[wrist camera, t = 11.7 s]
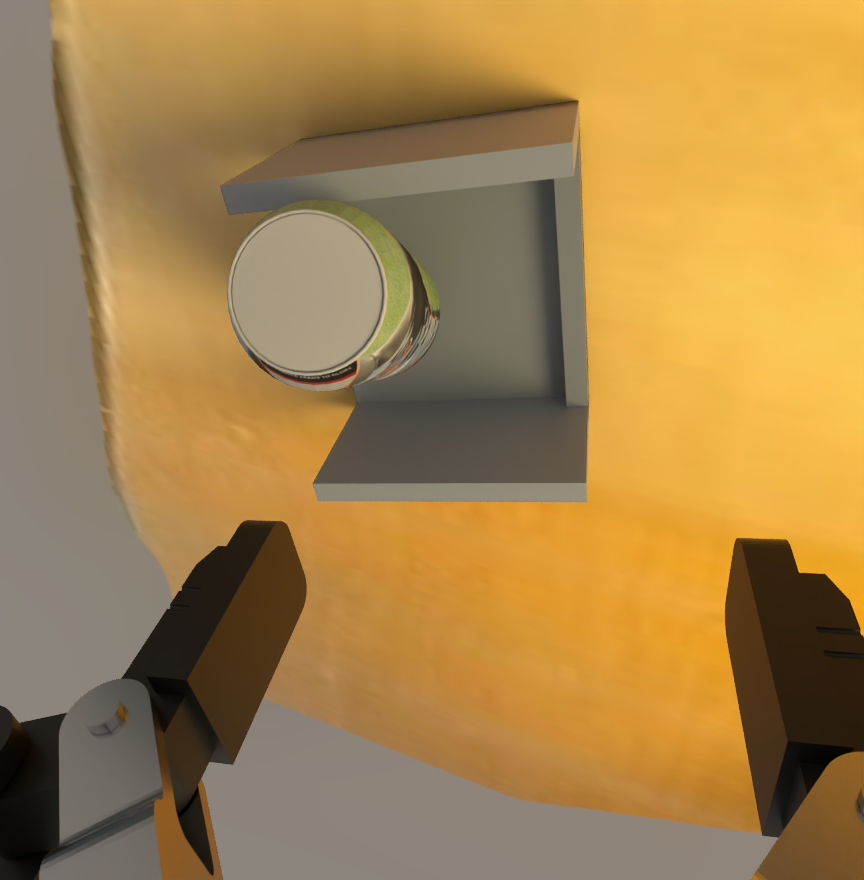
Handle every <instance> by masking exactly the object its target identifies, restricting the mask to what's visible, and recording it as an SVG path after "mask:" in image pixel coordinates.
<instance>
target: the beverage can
mask: <svg viewBox="0 0 864 880" xmlns="http://www.w3.org/2000/svg"><path fill="white" fill-rule="evenodd" d="M227 298H228V308H229V314H230V318H231V321H232V325H233V328H234V330H235V333H236V335H237V337H238V339H239V341H240V343H241V345H242V346H243V348H244V349H245V351H246V352H247V353H248V355H249V356H250V357H251V358H252V359H253V360H254V362H255V363H256V364H257V365H258V366H259V367H260V368H261V369H263V370H264V371H265V372H267V373H268V374H269V375H271V376H272V377H274V378H275V379H277V380H279V381H281V382H283V383H285V384H287V385H290V386H293V387H297V388H300V389H303V390H311V391H335V390H340V389H344V388H348V387H352V386H356V385H360V384H364V383H368V382H372V381H375V380H379V379H383V378H387V377H391V376H395V375H397V374H400V373H402V372H404V371H406V370H408V369H409V368H411V367H412V366H414V365H415V364H416V363H417V362H418V361H419V360H420V359H421V358H422V357H423V356H424V355H425V354H426V352H427V351H428V350H429V348H430V347H431V345H432V343H433V341H434V339H435V337H436V333H437V330H438V326H439V320H440V301H439V297H438V293H437V289H436V287H435V284H434V282H433V280H432V278H431V276H430V275H429V273H428V271H427V270H426V268H425V267H424V266H423V265H422V264H421V263H420V262H419V261H418V260H417V259H416V258H415V257H414V256H413V255H412V254H411V253H410V252H409V251H408V250H407V249H406V248H405V247H404V246H403V245H402V244H401V243H400V242H399V241H398V240H397V239H396V238H395V237H394V236H393V235H392V234H391V233H390V232H389V231H388V230H387V229H386V228H385V227H384V226H383V225H382V224H381V223H379V222H378V221H377V220H375V219H374V218H373V217H371V216H370V215H369V214H367V213H366V212H364V211H362V210H360V209H358V208H356V207H354V206H351V205H348V204H345V203H341V202H338V201H332V200H321V199H316V200H305V201H299V202H296V203H292V204H289V205H286V206H284V207H282V208H280V209H278V210H276V211H274V212H272V213H270V214H269V215H267V216H266V217H265V218H263V219H262V220H261V221H259V222H258V223H257V224H256V225H255V226H254V228H253V229H252V230H251V231H250V232H249V233H248V234H247V235H246V237H245V239H244V240H243V242H242V243H241V245H240V246H239V248H238V250H237V252H236V255H235V257H234V260H233V262H232V265H231V269H230V273H229V278H228V291H227Z"/></svg>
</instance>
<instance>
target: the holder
mask: <svg viewBox="0 0 864 880" xmlns="http://www.w3.org/2000/svg"><path fill="white" fill-rule="evenodd" d="M220 188H221V191H222V194H223V197H224V200H225V204H226V207H227V210H228V213H229V215H233V214H242V213H251V212H260V211H268V210H277V209H280V208H282V207H284V206H286V205H289V204H292V203H296V202H299V201H305V200H316V199H321V200H332V201H338V202H341V203H345V204H348V205H351V206H354V207H356V208H358V209H360V210H362V211H364V212H366V213H367V214H369V215H370V216H371V217H373V218H374V219H375V220H377V221H378V222H379V223H381V224H382V225H383V226H384V227H385V228H386V229H387V230H388V231H389V232H390V233H391V234H392V235H393V236H394V237H395V238H396V239H397V240H398V241H399V242H400V243H401V244H402V245H403V246H404V247H405V248H406V249H407V250H408V251H409V252H410V253H411V254H412V255H413V256H414V257H415V258H416V259H417V260H418V261H419V262H420V263H421V264H422V265H423V266H424V267H425V268H426V270H427V271H428V273H429V275H430V276H431V278H432V280H433V282H434V284H435V287H436V289H437V293H438V297H439V301H440V320H439V326H438V330H437V333H436V337H435V339H434V341H433V343H432V345H431V347H430V348H429V350H428V351H427V352H426V354H425V355H424V356H423V357H422V358H421V359H420V360H419V361H418V362H417V363H416V364H415V365H414V366H412V367H411V368H409V369H408V370H406V371H404V372H402V373H400V374H397V375H395V376H391V377H387V378H383V379H379V380H375V381H372V382H368V383H364V384H360V385H356V386H353V389H354V393H355V397H356V402H357V404H356V406H355V408H354V410H353V412H352V413H351V415H350V417H349V419H348V421H347V422H346V424H345V426H344V428H343V430H342V431H341V433H340V435H339V437H338V439H337V440H336V442H335V444H334V446H333V448H332V449H331V451H330V453H329V455H328V457H327V459H326V460H325V462H324V464H323V466H322V468H321V469H320V471H319V473H318V475H317V477H316V478H315V480H314V482H313V487H314V490H315V493H316V496H317V500H318V501H416V502H587V475H588V429H589V386H588V357H587V329H586V300H585V271H584V242H583V214H582V185H581V156H580V127H579V101H573V102H565V103H558V104H551V105H544V106H537V107H529V108H522V109H515V110H508V111H500V112H493V113H486V114H479V115H472V116H464V117H457V118H450V119H443V120H436V121H428V122H421V123H414V124H407V125H399V126H392V127H385V128H378V129H371V130H363V131H356V132H349V133H342V134H334V135H327V136H320V137H313V138H306V139H300V140H299V141H297V142H295V143H293V144H292V145H290V146H288V147H286V148H285V149H283V150H281V151H280V152H278V153H276V154H274V155H273V156H271V157H269V158H267V159H266V160H264V161H262V162H261V163H259V164H257V165H255V166H254V167H252V168H250V169H248V170H247V171H245V172H243V173H242V174H240V175H238V176H236V177H235V178H233V179H231V180H229V181H228V182H226V183H224V184H222V185H221V186H220Z"/></svg>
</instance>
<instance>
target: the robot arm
mask: <svg viewBox="0 0 864 880" xmlns="http://www.w3.org/2000/svg"><path fill="white" fill-rule="evenodd" d="M305 599H306V578H305V574H304V571H303V569H302V566H301V563H300V560H299V557H298V554H297V551H296V548H295V545H294V542H293V539H292V536H291V533H290V530H289V528H288V526H287V524H286V523H284V522H282V521H254V520H247V521H244V522H242V523H241V524H240V526H239V527H238V529H237V530H236V532H235V533H234V535H233V537H232V538H231V540H230V541H229V543H228V545H227V546H218V547H216V548H215V549H214V550H213V551H212V552H211V553H209V554H208V555H207V556H206V557H205V558H204V559H202V560H201V561H200V562H199V563H198V564H196V566H195V567H194V569H193V570H192V572H191V573H190V575H189V576H188V578H187V579H186V581H185V583H184V584H183V586H182V591H179V592H178V593H177V595H176V596H175V598H174V599H173V601H172V602H171V604H170V606H171V607H170V609H167V610H166V612H165V613H164V615H163V616H162V618H161V619H160V621H159V623H158V624H157V625H156V627H155V629H154V630H153V631H152V633H151V635H150V636H149V638H148V639H147V641H146V642H145V644H144V645H143V647H142V648H141V650H140V651H139V653H138V654H137V656H136V657H135V659H134V660H133V662H132V664H131V665H130V667H129V668H128V670H127V671H126V673H125V674H124V676H123V677H122V678H121V679H116V680H112V681H109V682H106V683H103V684H101V685H100V686H97V687H95V688H94V689H92V690H91V691H89V692H87V693H86V694H85V695H84V696H83V697H81V698H80V699H79V700H78V701H77V702H76V703H75V704H74V705H73V706H72V707H71V709H70V710H69V711H68V713H64V714H59V715H55V716H50V717H45V718H41V719H36V720H31V721H26V722H22V723H19V722H18V721H17V720H16V719H15V717H14V716H13V715H12V713H11V712H10V711H9V710H8V709H7V708H5V707H2V706H0V880H223V876H222V871H221V866H220V861H219V856H218V851H217V846H216V841H215V836H214V831H213V826H212V821H211V816H210V811H209V806H208V801H207V796H206V791H205V787H204V784H203V782H202V780H201V778H202V776H203V774H204V772H205V770H206V767H207V765H208V763H209V762H216V763H223V764H232V765H233V763H234V761H235V759H236V757H237V754H238V752H239V750H240V748H241V746H242V743H243V741H244V739H245V737H246V735H247V732H248V730H249V728H250V726H251V723H252V721H253V719H254V717H255V714H256V712H257V710H258V708H259V706H260V703H261V701H262V699H263V697H264V694H265V692H266V690H267V688H268V686H269V683H270V681H271V679H272V677H273V674H274V672H275V670H276V668H277V666H278V663H279V661H280V659H281V657H282V654H283V652H284V650H285V648H286V646H287V643H288V641H289V639H290V637H291V634H292V632H293V630H294V628H295V626H296V623H297V621H298V619H299V617H300V614H301V612H302V610H303V607H304V604H305ZM725 627H726V637H727V643H728V648H729V654H730V659H731V665H732V670H733V676H734V682H735V687H736V693H737V698H738V704H739V709H740V715H741V720H742V726H743V731H744V737H745V743H746V748H747V754H748V759H749V765H750V770H751V776H752V781H753V787H754V792H755V798H756V803H757V809H758V815H759V820H760V826H761V831H762V835H763V836H770V837H778V840H777V841H776V843H775V844H774V846H773V847H772V849H771V850H770V852H769V853H768V855H767V856H766V858H765V859H764V861H763V862H762V864H761V865H760V867H759V868H758V869H757V871H756V872H755V874H754V875H753V877H752V878H751V879H750V880H864V637H863V635H861V633H860V630H861V629H860V627H859V624H858V621H857V619H856V616H855V614H854V611H853V608H852V606H851V603H850V600H849V599H848V598H847V597H846V596H845V595H844V594H843V593H842V592H841V591H840V590H839V588H838V587H837V586H836V585H835V584H834V583H833V582H832V581H831V580H830V579H829V578H828V577H827V576H826V575H825V574H812V573H799V572H798V569H797V565H796V562H795V559H794V556H793V553H792V549H791V547H790V544H789V542H788V541H787V540H782V539H752V538H737V539H736V541H735V544H734V549H733V556H732V562H731V569H730V576H729V582H728V589H727V595H726V603H725Z"/></svg>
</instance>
